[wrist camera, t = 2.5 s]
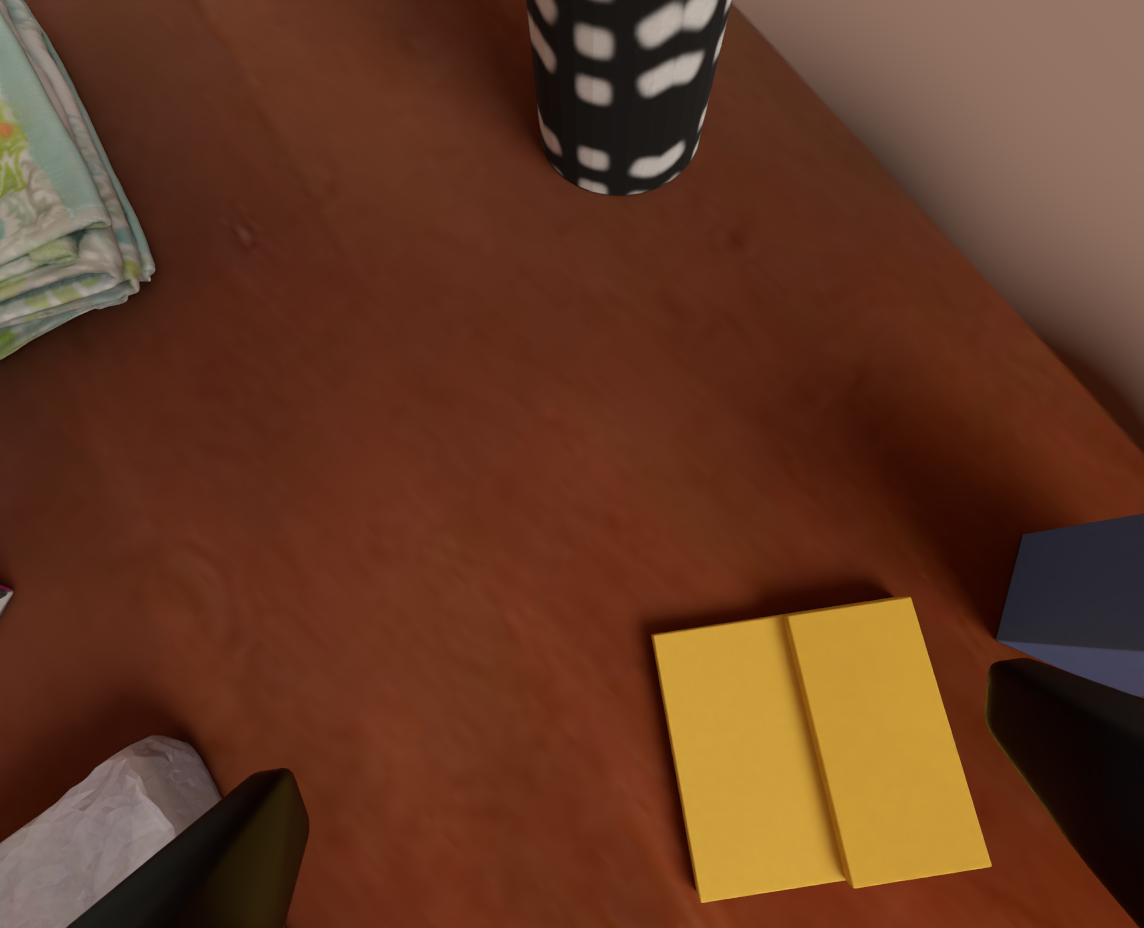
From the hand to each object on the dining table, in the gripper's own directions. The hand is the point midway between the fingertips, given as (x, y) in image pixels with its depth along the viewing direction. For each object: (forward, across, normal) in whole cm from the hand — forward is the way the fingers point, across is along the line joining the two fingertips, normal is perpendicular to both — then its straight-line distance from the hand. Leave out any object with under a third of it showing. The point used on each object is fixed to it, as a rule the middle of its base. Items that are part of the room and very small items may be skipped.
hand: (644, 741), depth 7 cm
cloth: (+11, -7, +11) cm, 17 cm away
